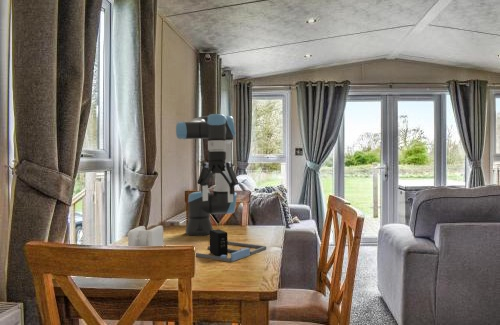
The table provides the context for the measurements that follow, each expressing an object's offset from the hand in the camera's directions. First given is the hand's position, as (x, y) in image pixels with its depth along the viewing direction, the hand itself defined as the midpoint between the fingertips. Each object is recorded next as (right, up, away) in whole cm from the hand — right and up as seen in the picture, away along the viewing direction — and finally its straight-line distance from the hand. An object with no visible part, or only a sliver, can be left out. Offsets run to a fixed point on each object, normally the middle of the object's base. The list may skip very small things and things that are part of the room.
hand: (217, 201), depth 163 cm
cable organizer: (-31, -23, +2) cm, 39 cm away
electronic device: (0, -23, 0) cm, 23 cm away
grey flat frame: (+4, -22, +5) cm, 23 cm away
